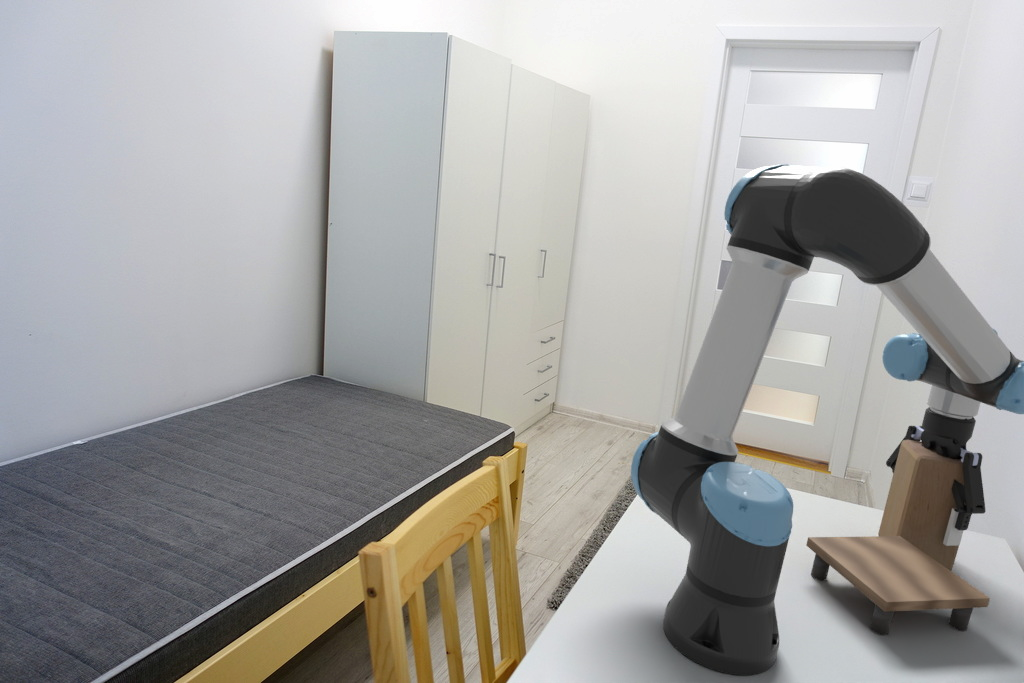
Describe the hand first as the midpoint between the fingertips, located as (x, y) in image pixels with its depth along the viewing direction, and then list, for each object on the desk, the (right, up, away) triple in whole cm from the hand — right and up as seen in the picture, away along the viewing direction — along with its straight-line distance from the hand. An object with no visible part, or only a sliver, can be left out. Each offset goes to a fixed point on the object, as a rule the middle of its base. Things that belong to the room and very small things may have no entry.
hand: (921, 525), depth 127 cm
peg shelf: (-14, -8, -15) cm, 22 cm away
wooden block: (-1, -6, +1) cm, 6 cm away
